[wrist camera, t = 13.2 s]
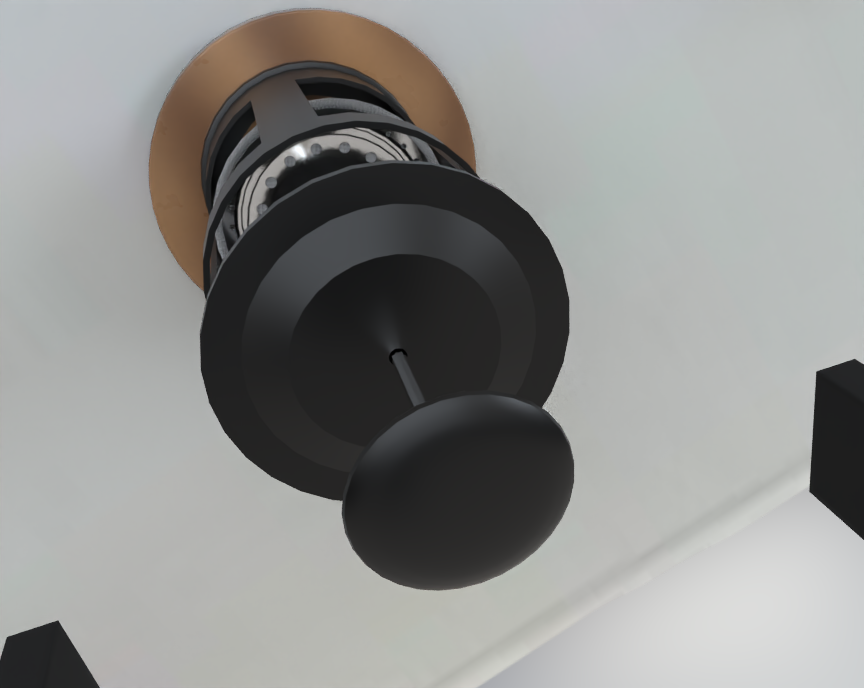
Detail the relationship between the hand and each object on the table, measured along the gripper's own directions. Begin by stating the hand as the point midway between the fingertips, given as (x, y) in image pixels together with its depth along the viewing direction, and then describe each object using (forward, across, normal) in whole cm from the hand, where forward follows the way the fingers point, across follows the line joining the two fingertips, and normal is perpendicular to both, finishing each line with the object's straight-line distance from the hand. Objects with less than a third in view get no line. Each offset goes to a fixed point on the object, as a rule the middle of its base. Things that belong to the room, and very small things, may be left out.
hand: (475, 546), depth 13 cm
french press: (+24, 0, 0) cm, 24 cm away
